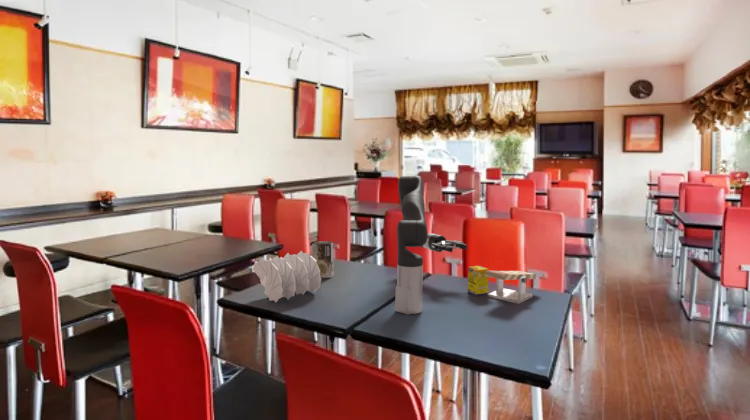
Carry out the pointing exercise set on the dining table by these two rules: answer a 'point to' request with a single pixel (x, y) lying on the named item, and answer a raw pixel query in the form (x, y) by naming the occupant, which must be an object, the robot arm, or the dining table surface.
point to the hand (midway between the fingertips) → (459, 248)
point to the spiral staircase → (288, 275)
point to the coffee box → (324, 257)
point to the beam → (509, 275)
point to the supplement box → (477, 281)
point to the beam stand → (511, 292)
